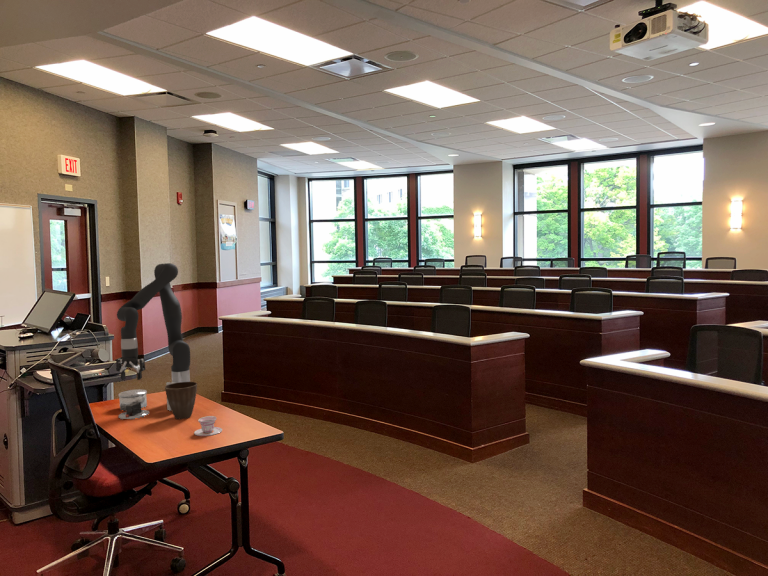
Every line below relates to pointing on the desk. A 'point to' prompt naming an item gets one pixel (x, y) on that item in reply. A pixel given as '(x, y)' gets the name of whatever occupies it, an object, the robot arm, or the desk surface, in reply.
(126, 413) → the cooker lid
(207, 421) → the teacup
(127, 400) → the cooker pot
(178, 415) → the plant pot
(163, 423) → the desk surface
